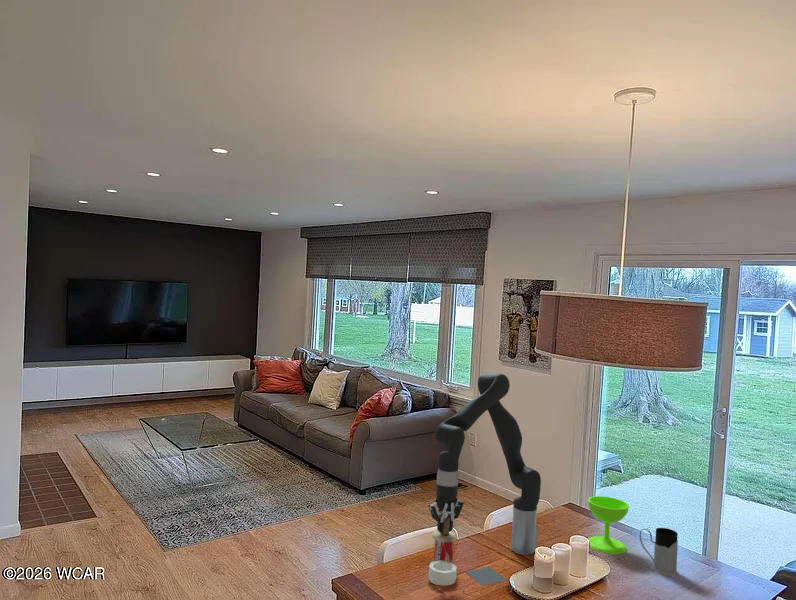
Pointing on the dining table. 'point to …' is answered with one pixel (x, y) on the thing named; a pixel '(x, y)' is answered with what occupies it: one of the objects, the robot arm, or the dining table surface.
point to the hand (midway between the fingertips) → (444, 531)
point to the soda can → (444, 551)
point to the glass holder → (664, 551)
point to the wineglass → (607, 522)
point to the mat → (486, 576)
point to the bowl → (442, 572)
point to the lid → (445, 532)
